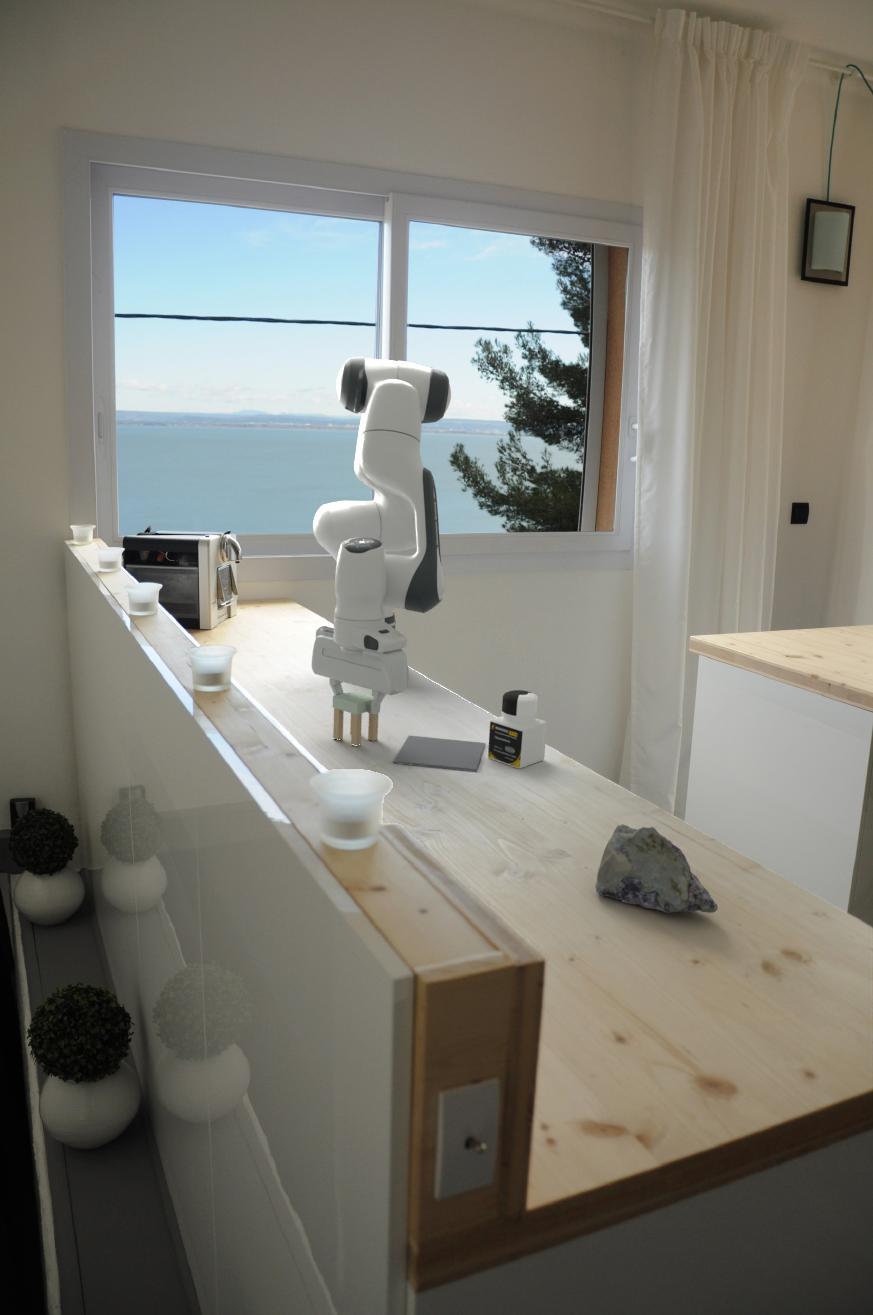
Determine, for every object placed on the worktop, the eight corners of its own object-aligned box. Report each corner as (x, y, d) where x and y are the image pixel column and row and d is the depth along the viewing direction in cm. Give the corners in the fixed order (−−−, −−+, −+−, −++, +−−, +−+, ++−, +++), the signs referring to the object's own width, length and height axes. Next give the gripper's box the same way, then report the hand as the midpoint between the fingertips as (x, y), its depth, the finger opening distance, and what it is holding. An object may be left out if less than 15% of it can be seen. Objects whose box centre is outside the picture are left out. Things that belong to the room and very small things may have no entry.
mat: (408, 737, 173) (408, 735, 173) (485, 745, 171) (485, 742, 171) (393, 763, 159) (393, 760, 159) (476, 771, 157) (476, 769, 157)
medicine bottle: (486, 758, 164) (491, 691, 161) (512, 749, 169) (517, 685, 166) (519, 769, 159) (524, 701, 156) (544, 760, 164) (550, 694, 162)
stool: (331, 739, 170) (332, 696, 168) (354, 732, 174) (356, 690, 172) (356, 747, 166) (357, 703, 164) (379, 739, 171) (380, 697, 169)
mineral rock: (720, 926, 111) (731, 847, 109) (644, 941, 107) (653, 859, 105) (655, 877, 123) (663, 805, 121) (584, 889, 119) (591, 814, 116)
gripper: (304, 624, 169) (302, 698, 172) (390, 645, 157) (387, 724, 160) (329, 620, 174) (327, 692, 177) (414, 639, 162) (411, 717, 165)
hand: (356, 708), depth 169 cm, fingers open, 7 cm apart
